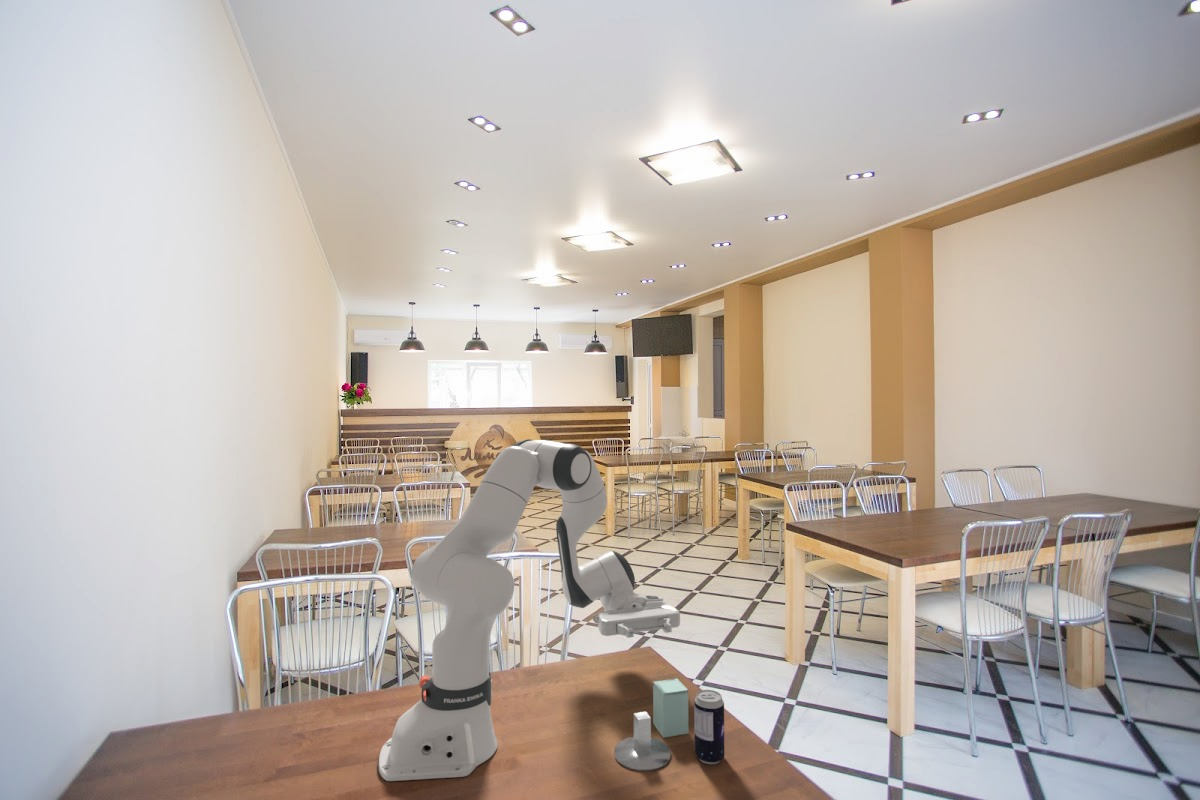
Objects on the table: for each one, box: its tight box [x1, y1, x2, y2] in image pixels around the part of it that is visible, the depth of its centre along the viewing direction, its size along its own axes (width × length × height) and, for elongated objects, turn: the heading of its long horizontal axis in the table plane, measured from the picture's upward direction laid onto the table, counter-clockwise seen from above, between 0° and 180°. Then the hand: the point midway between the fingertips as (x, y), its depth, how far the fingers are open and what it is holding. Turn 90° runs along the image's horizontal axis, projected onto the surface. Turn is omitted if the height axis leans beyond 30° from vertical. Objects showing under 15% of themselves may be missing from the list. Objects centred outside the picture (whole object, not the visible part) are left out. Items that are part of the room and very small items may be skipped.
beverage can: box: [693, 689, 726, 765], centre depth 115 cm, size 6×6×12 cm
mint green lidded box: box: [652, 678, 689, 739], centre depth 126 cm, size 6×6×9 cm
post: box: [613, 711, 672, 772], centre depth 116 cm, size 11×11×8 cm
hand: (649, 631), depth 138 cm, fingers open, 8 cm apart
